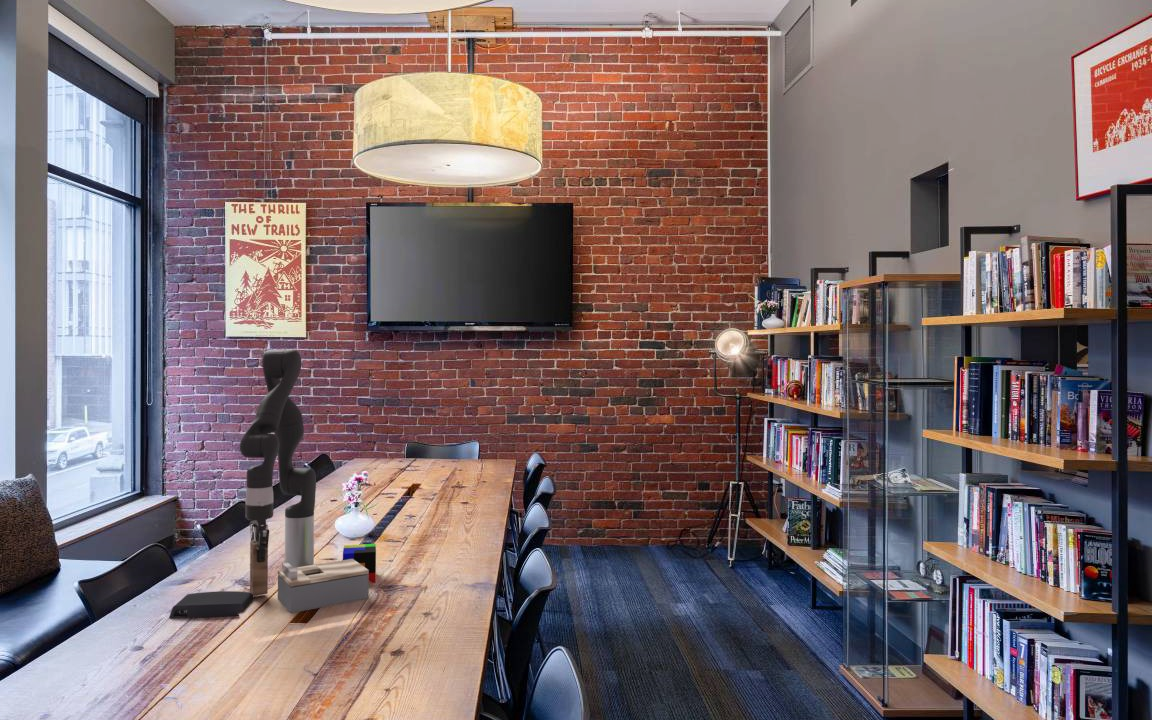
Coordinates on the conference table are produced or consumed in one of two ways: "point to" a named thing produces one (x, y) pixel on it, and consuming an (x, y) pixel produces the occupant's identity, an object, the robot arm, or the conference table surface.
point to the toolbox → (322, 592)
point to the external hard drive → (211, 605)
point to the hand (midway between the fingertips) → (259, 559)
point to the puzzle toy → (363, 557)
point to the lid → (321, 572)
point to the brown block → (258, 572)
